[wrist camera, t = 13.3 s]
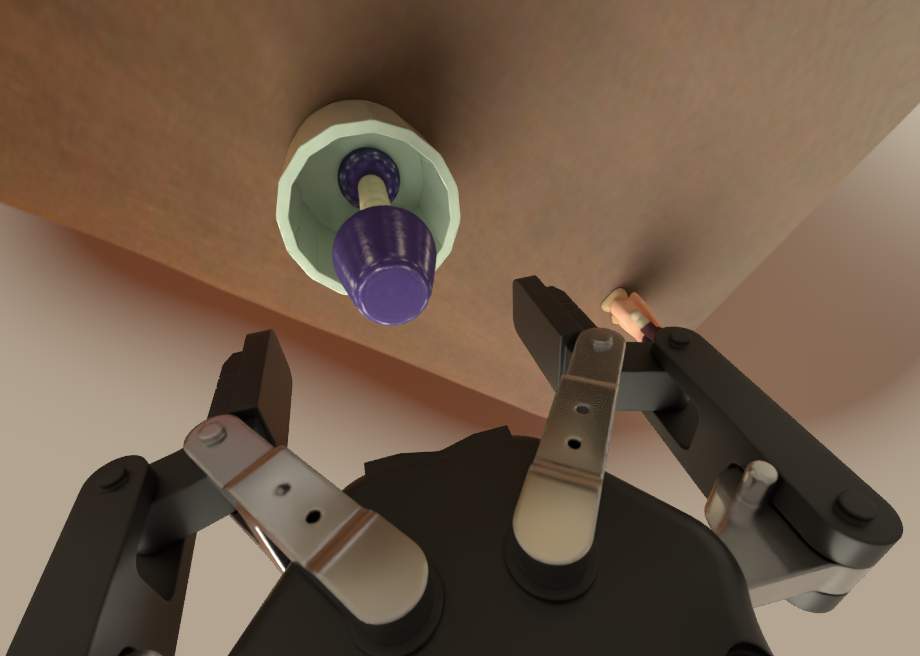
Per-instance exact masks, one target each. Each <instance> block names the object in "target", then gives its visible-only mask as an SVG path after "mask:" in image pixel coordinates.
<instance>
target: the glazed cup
mask: <svg viewBox="0 0 920 656" xmlns="http://www.w3.org/2000/svg"><path fill="white" fill-rule="evenodd" d="M362 147H371V148H376V149H379V150H381V151H383V152H385V153H386V154H388V155H389V156H390V157H391V158H392V159H393V161H394V162H395V163H396V165H397V168H398V170H399V174H400V188H399V191H398V194H397V196H396V197H395V199H394V200H393V201H392V202H391V203H390V205H391V206H395V207H401V208H403V209H406V210H409V211H410V212H411V213H413V214H415V215H416V216H418V217H419V218H420V219H421V220H422V221H423V222H424V223H425V224H426V226H427V227H428V228H429V230H430V232H431V233H432V236H433V238H434V241H435V245H436V251H437V258H436V268H435V271H436V270H437V269H438V267H439V266H440V265H441V263H442V262H443V261H444V260H445V258H446V257H447V256H448V255H449V253H450V252H451V250H452V247H453V243H454V240H455V237H456V233H457V230H458V227H459V223H460V219H461V218H460V207H459V196H458V187H457V184H456V182H455V180H454V178H453V177H452V175H451V173H450V171H449V169H448V167H447V165H446V163H445V161H444V159H443V157H442V156H441V155H440V153H439V152H438V151H437V150H436V149H435V148H434V147H433V146H432V145H431V144H430V143H429V142H428V141H427V140H426V139H425V138H424V137H422V136H421V135H420V134H419V133H418V132H417V131H416V130H415V129H414V128H413V127H412V126H411V125H410V124H408V123H407V122H406V121H405V120H404V119H403V118H402V117H400V116H399V115H398V114H396V113H395V112H394V111H393V110H392V109H390V108H387V107H385V106H382V105H380V104H377V103H374V102H370V101H365V100H355V99H354V100H343V101H338V102H334V103H331V104H328V105H326V106H324V107H322V108H320V109H318V110H317V111H315V112H314V113H313V114H312V115H310V116H309V117H308V118H307V119H306V120H305V121H304V122H303V123H302V125H301V126H300V128H299V129H298V131H297V132H296V134H295V136H294V138H293V140H292V142H291V143H290V145H289V148H288V151H287V155H286V158H285V162H284V165H283V169H282V172H281V176H280V179H279V186H278V196H277V207H276V220H277V223H278V226H279V229H280V232H281V235H282V238H283V240H284V243H285V246H286V249H287V251H288V253H289V254H290V255H291V256H292V258H293V259H294V260H295V261H296V262H297V263H298V264H299V265H300V267H301V268H302V269H303V270H304V271H305V272H306V273H307V274H308V276H309V277H310V278H312V279H313V280H315V281H317V282H319V283H321V284H323V285H325V286H327V287H329V288H331V289H332V290H334V291H336V292H338V293H340V294H344V295H348V294H347V292H346V290H345V289H344V287H343V286H342V284H341V282H340V280H339V279H338V277H337V275H336V272H335V269H334V266H333V261H332V248H333V243H334V239H335V236H336V234H337V231H338V230H339V228H340V227H341V225H342V224H343V223H344V222H345V221H346V220H347V219H348V218H349V217H351V216H352V215H353V214H355V213H356V212H358V211H360V209H359V208H357V207H355V206H353V205H352V204H351V203H349V202H348V201H347V200H346V199H345V197H344V196H343V195H342V193H341V191H340V188H339V185H338V169H339V166H340V164H341V162H342V160H343V159H344V157H345V156H346V155H347V154H349V153H350V152H351V151H353V150H355V149H358V148H362Z"/></svg>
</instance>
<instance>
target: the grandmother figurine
mask: <svg viewBox="0 0 920 656" xmlns="http://www.w3.org/2000/svg"><path fill="white" fill-rule="evenodd" d="M602 309H603V310H604V311H606V312H611V313H612V314H613V315H612V317H611V319H612V322H613V323H615V324H619V325H620V326H621V327H622V328H623V329H624V330H626V331H627V332H628V333H630V334H631V335H632V336H633V337H634V338H635V339H636V340H637V341H638V342H653V337H654V334H655V332H656V331H658V330H659V329H662V326H661V324H660V322H659V321H658V319H657V318H656V316H655V315H654V313H653V312H652V311H651V309H650V308H649V307H648V305H647V304H646V303H645V302H644V301H643V299H642V298H641V297H640V296H639V295H638V294H637V293H635V292H633V293H632V294H631V295H630V297H629V298H628V295H627V293H626V291H625V290H624V289H622V288H618V289H615V290H614V291H613V292H612V293H611V294H610V295H609V296H608V297H607V298H606V299H605V300H604V301H603V303H602Z"/></svg>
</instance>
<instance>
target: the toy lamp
mask: <svg viewBox="0 0 920 656" xmlns="http://www.w3.org/2000/svg"><path fill="white" fill-rule="evenodd" d="M338 185H339V188H340V191H341V193H342V195H343V196H344V197H345V199H346V200H347V201H348V202H349V203H351V204H352V205H353V206H355V207H357V208H359V209H360V211H358V212H356V213H355V214H353V215H352V216H351V217H349V218H348V219H347V220H346V221H345V222H344V223H343V224H342V225H341V227H340V228H339V230H338V231H337V234H336V236H335V239H334V243H333V248H332V261H333V266H334V269H335V272H336V275H337V277H338V279H339V280H340V282H341V284H342V286H343V287H344V289H345V290H346V292H347V294H348V295H349V297H350V298H351V300H352V301H353V303H354V304H355V306H356V307H357V308H358V310H359V311H360V312H361V313H362V314H363V315H364V316H365V317H367V318H368V319H370V320H372V321H374V322H375V323H378V324H382V325H400V324H404V323H407V322H409V321H411V320H413V319H415V318H416V317H417V316H418V315H419V314H421V312H422V311H423V310H424V309H425V307H426V306H427V304H428V302H429V299H430V296H431V294H432V288H433V282H434V275H435V268H436V258H437V251H436V245H435V241H434V238H433V236H432V233H431V232H430V230H429V228H428V227H427V226H426V224H425V223H424V222H423V221H422V220H421V219H420V218H419V217H418V216H416V215H415V214H413V213H411V212H410V211H409V210H406V209H403V208H401V207H395V206H391V205H390V203H391V202H392V201H393V200H394V199H395V197H396V196H397V194H398V191H399V188H400V174H399V170H398V168H397V165H396V163H395V162H394V161H393V159H392V158H391V157H390V156H389V155H388V154H386V153H385V152H383V151H381V150H379V149H376V148H371V147H362V148H358V149H355V150H353V151H351V152H350V153H349V154H347V155H346V156H345V157H344V159H343V160H342V162H341V164H340V166H339V169H338Z"/></svg>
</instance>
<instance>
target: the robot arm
mask: <svg viewBox="0 0 920 656" xmlns="http://www.w3.org/2000/svg"><path fill="white" fill-rule="evenodd" d="M513 321H514V326H515V329H516V332H517V334H518V335H519V337H520V338H521V340H522V342H523V343H524V345H525V346H526V348H527V349H528V351H529V352H530V354H531V355H532V357H533V359H534V360H535V362H536V363H537V365H538V366H539V368H540V369H541V371H542V372H543V374H544V375H545V377H546V379H547V380H548V382H549V383H550V385H551V386H552V388H553V389H554V391H555V392H556V394H555V397H554V401H553V404H552V407H551V410H550V413H549V416H548V419H547V422H546V425H545V428H544V432H543V435H542V438H541V439H538V438H534V437H529V436H518V435H511V433H510V431H509V429H508V426H507V425H506V426H502V427H498V428H495V429H491V430H487V431H484V432H480V433H476V434H472V435H471V436H469V437H467V438H465V439H463V440H461V441H459V442H457V443H455V444H453V445H451V446H449V447H447V448H445V449H443V450H441V451H435V452H417V453H400V454H396V455H393V456H388V457H385V458H381V459H378V460H374V461H370V462H366V463H364V466H365V475H364V476H362V477H360V478H358V479H357V480H355V481H354V482H352V483H351V484H349V485H348V486H347V487H345V489H343V490H342V491H341V490H340V489H339V488H337V487H336V486H335V485H334V484H332V483H331V482H330V481H329V480H327V479H326V478H325V477H324V476H322V475H321V474H320V473H318V472H317V471H316V470H315V469H313V468H312V467H311V466H310V465H308V464H307V463H306V462H305V461H303V460H302V459H301V458H299V457H298V456H297V455H296V454H294V453H293V452H292V451H291V450H289V449H288V448H287V444H288V432H289V420H290V408H291V395H292V377H291V372H290V368H289V366H288V363H287V361H286V358H285V356H284V353H283V351H282V348H281V346H280V343H279V341H278V339H277V336H276V334H275V332H274V331H273V330H272V329H270V330H265V331H261V332H256V333H251V334H248V335H247V336H246V339H245V343H244V347H243V351H241V352H237V353H233V354H232V355H231V356H230V357H229V358H228V360H227V361H226V362H225V363H224V365H223V367H222V369H221V373H220V376H219V377H220V379H219V380H218V383H217V389H216V390H215V393H214V397H213V400H212V404H211V407H210V410H209V414H208V417H207V420H205V421H203V422H202V423H200V424H199V425H197V426H196V427H195V428H194V429H192V430H191V432H190V433H189V434H188V435H187V437H186V439H185V441H184V445H183V446H184V447H183V448H182V449H180V450H179V451H177V452H175V453H173V454H170V455H168V456H166V457H164V458H162V459H160V460H157V461H155V462H153V463H151V464H148V462H147V461H146V460H145V459H144V458H143V457H141V456H138V455H130V456H124V457H121V458H118V459H115V460H113V461H111V462H109V463H107V464H106V465H104V466H102V467H101V468H99V469H98V470H97V471H95V472H94V473H93V474H92V475H91V476H90V477H89V478H88V479H87V481H86V482H85V483H84V484H83V486H82V488H81V490H80V492H79V494H78V497H77V499H76V501H75V503H74V505H73V508H72V510H71V512H70V514H69V516H68V519H67V521H66V523H65V525H64V528H63V530H62V532H61V534H60V537H59V539H58V541H57V543H56V545H55V548H54V550H53V552H52V554H51V557H50V559H49V561H48V563H47V565H46V568H45V570H44V572H43V574H42V576H41V578H40V581H39V583H38V585H37V587H36V590H35V592H34V594H33V596H32V598H31V601H30V603H29V605H28V607H27V610H26V612H25V614H24V616H23V618H22V621H21V623H20V625H19V627H18V630H17V632H16V634H15V636H14V638H13V641H12V643H11V645H10V647H9V649H8V652H7V654H6V656H175V651H176V645H177V640H178V634H179V628H180V623H181V617H182V612H183V606H184V601H185V595H186V590H187V584H188V578H189V573H190V567H191V562H192V556H193V550H194V545H195V539H196V533H197V532H198V531H199V530H201V529H203V528H205V527H207V526H209V525H210V524H212V523H214V522H216V521H218V520H219V519H221V518H223V517H225V516H227V515H229V516H230V517H231V518H232V519H233V520H234V521H235V522H236V523H237V524H238V525H239V526H240V527H241V528H242V529H243V531H244V532H245V533H246V534H247V535H248V536H249V537H250V538H251V539H252V540H253V541H254V542H255V543H256V545H258V547H259V548H260V549H261V550H262V551H263V552H264V553H265V554H266V555H267V556H268V558H269V559H270V560H271V561H272V563H273V564H274V565H275V567H276V568H277V569H278V570H279V571H280V573H281V574H282V576H281V577H280V579H279V580H278V582H277V583H276V585H275V586H274V588H273V589H272V591H271V592H270V594H269V595H268V597H267V598H266V600H265V601H264V603H263V604H262V606H261V607H260V609H259V611H258V612H257V613H256V615H255V616H254V618H253V619H252V621H251V622H250V624H249V625H248V627H247V628H246V630H245V631H244V632H243V634H242V635H241V637H240V638H239V640H238V641H237V643H236V644H235V646H234V647H233V649H232V650H231V652H230V653H229V655H228V656H774V655H773V654H772V652H771V650H770V648H769V646H768V644H767V642H766V640H765V638H764V636H763V634H762V631H761V629H760V627H759V624H758V622H757V619H756V616H755V613H754V610H753V608H756V607H759V606H763V605H766V604H770V603H773V602H777V601H780V600H784V599H785V600H787V601H788V602H789V603H791V604H793V605H794V606H796V607H798V608H800V609H803V610H805V611H809V612H813V613H825V612H829V611H831V610H832V609H834V607H835V606H836V605H837V604H838V603H839V602H840V601H841V600H842V599H843V598H844V597H845V596H846V595H847V594H848V592H850V590H851V589H852V588H853V587H854V586H855V585H856V584H857V583H858V582H859V581H860V580H861V579H862V578H863V577H864V576H865V575H866V574H867V573H868V572H869V571H870V569H872V567H873V566H874V565H875V564H876V563H877V562H878V561H879V560H880V559H881V558H882V557H883V556H884V555H885V554H886V553H887V552H888V551H889V550H890V548H892V546H893V545H894V544H895V543H896V542H897V541H898V540H899V539H900V538H901V536H902V534H903V526H902V522H901V520H900V517H899V516H898V514H897V513H896V511H895V510H894V509H893V508H892V506H891V505H890V504H889V503H887V501H886V500H884V499H883V498H882V497H881V496H880V495H879V494H877V492H875V491H874V490H873V489H872V488H871V487H870V486H869V485H868V484H866V483H865V482H864V481H863V480H862V479H861V478H860V477H858V476H857V475H856V474H855V473H854V472H853V471H852V470H851V469H850V468H848V467H847V466H846V465H845V464H844V463H843V462H842V461H841V460H839V459H838V458H837V457H836V456H835V455H834V454H833V453H832V452H831V451H829V450H828V449H827V448H826V447H825V446H824V445H823V444H821V443H820V442H819V441H818V440H817V439H816V438H815V437H814V436H812V435H811V434H810V433H809V432H808V431H807V430H806V429H805V428H804V427H802V426H801V425H800V424H799V423H798V422H797V421H796V420H795V419H794V418H792V417H791V416H790V415H789V414H788V413H787V412H786V411H784V410H783V409H782V408H781V407H780V406H779V405H778V404H777V403H776V402H774V401H773V400H772V399H771V398H770V397H769V396H768V395H767V394H765V393H764V392H763V391H762V390H761V389H760V388H759V387H758V386H756V385H755V384H754V383H753V382H752V381H751V380H750V379H748V378H747V377H746V376H745V375H744V374H743V373H742V372H741V371H739V370H738V369H737V368H736V367H735V366H734V365H733V364H732V363H731V362H730V361H728V360H727V359H726V358H725V357H724V356H723V355H722V354H721V353H719V352H718V351H717V350H716V349H715V348H714V347H713V346H712V345H710V344H709V343H708V342H707V341H706V340H705V339H704V338H702V337H701V336H700V335H699V334H697V333H695V332H694V331H692V330H689V329H686V328H681V327H665V328H662V329H659V330H658V331H656V332H655V334H654V337H653V342H626V341H625V339H624V338H623V337H622V336H621V335H620V334H619V333H617V332H615V331H613V330H610V329H606V328H598V327H597V326H596V325H595V324H594V323H593V322H592V321H591V320H590V319H589V318H588V317H587V316H586V314H585V313H584V312H583V311H582V310H581V309H580V308H578V306H577V305H576V304H575V303H574V302H572V299H571V298H570V297H569V296H568V295H567V294H566V293H565V292H564V291H562V290H560V289H558V288H556V287H553V286H549V287H546V286H545V285H544V284H543V283H542V282H541V281H540V279H539V278H538V277H537V276H535V275H534V276H529V277H524V278H519V279H515V280H514V281H513ZM615 411H642V413H643V414H644V415H645V417H646V418H647V419H648V421H649V422H650V423H651V425H652V426H653V427H654V428H655V430H656V431H657V433H658V434H659V435H660V437H661V438H662V439H663V441H664V442H665V443H666V445H667V446H668V447H669V449H670V450H671V451H672V453H673V454H674V456H675V457H676V458H677V460H678V461H679V462H680V463H681V465H682V466H683V468H684V469H685V470H686V472H687V473H688V474H689V475H690V477H691V478H692V479H693V481H694V482H695V484H696V485H697V486H698V488H699V489H700V490H701V492H702V493H703V494H704V496H705V497H706V498H707V502H706V505H705V511H704V512H705V517H706V520H707V522H708V524H709V526H710V528H711V529H710V528H708V527H707V526H706V525H704V524H703V523H702V522H700V521H699V520H697V519H695V518H693V517H692V516H690V515H688V514H686V513H684V512H682V511H680V510H679V509H677V508H675V507H673V506H671V505H669V504H667V503H665V502H663V501H661V500H659V499H657V498H655V497H654V496H652V495H650V494H648V493H646V492H644V491H642V490H640V489H638V488H636V487H634V486H633V485H631V484H628V483H627V482H625V481H623V480H621V479H619V478H617V477H615V476H613V475H611V474H610V473H607V472H606V471H605V467H606V461H607V456H608V449H609V444H610V437H611V432H612V426H613V420H614V413H615Z"/></svg>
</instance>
